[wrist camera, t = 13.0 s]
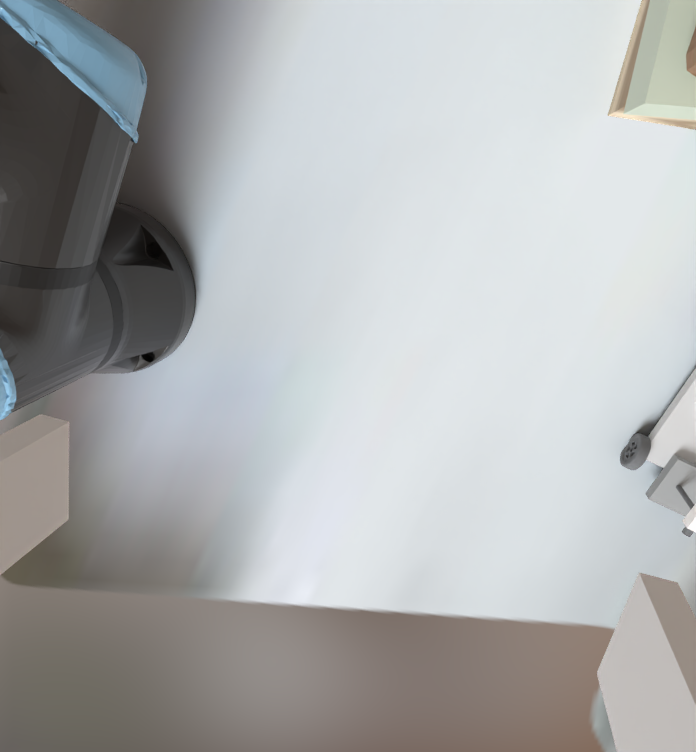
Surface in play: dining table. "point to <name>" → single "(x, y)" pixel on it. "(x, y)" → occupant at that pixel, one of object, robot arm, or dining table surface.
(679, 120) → the tower base
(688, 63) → the wooden block
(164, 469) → the dining table surface
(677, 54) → the tower top
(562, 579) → the dining table surface
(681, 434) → the white toy machine
